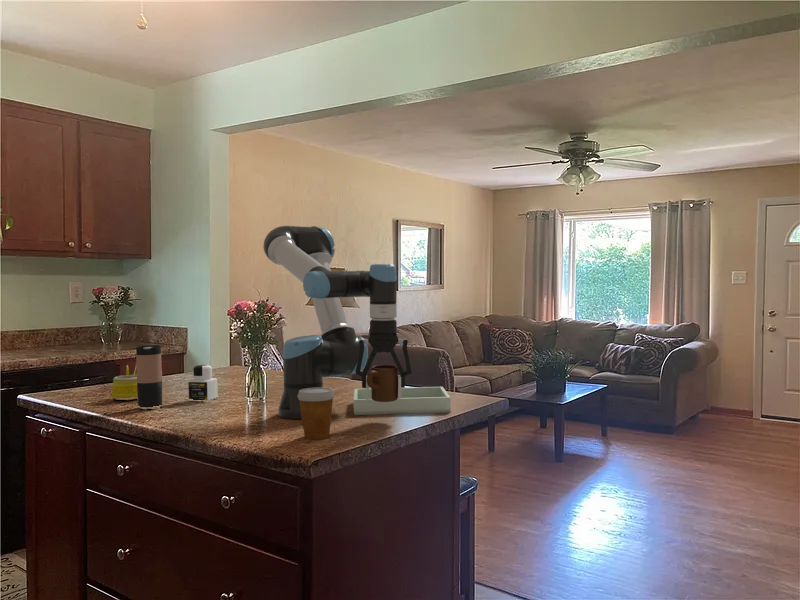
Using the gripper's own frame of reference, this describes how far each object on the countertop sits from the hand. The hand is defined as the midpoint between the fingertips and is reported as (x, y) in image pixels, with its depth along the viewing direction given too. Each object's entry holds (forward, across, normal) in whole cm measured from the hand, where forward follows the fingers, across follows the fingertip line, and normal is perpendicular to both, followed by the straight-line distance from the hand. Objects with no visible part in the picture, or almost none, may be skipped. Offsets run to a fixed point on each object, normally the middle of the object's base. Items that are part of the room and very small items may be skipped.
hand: (383, 399), depth 183 cm
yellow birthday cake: (+9, -88, +49) cm, 101 cm away
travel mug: (+8, -75, +30) cm, 81 cm away
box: (+7, +6, +20) cm, 22 cm away
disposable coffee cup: (+7, -18, -16) cm, 24 cm away
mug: (+1, -1, 0) cm, 1 cm away
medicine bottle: (+8, -61, +42) cm, 74 cm away
